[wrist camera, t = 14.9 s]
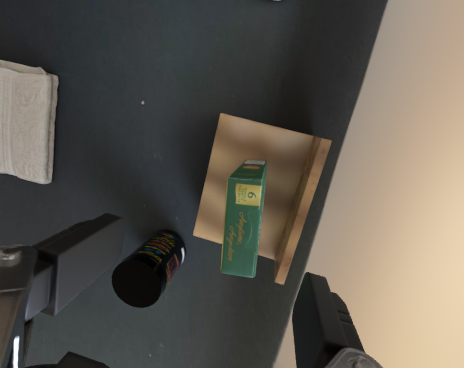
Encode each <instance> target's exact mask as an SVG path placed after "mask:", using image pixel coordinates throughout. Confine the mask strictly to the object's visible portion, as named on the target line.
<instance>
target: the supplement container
mask: <svg viewBox="0 0 464 368" xmlns="http://www.w3.org/2000/svg"><path fill="white" fill-rule="evenodd" d="M185 255H186V249H185V245H184V242H183V241H182V239H181V238H180V237H179V236H178V235H177V234H175V233H173V232H170V231H158V232H156V233H154V234H153V235H152V236H150V237H149V238H148V239H147V240H146V241H145V242H144V243H143V244H142V245H140V246H139V247H138V248H137V249H136V250H135V251H134V252H133V253H132V254H130V255H129V256H128V257H127V258H125V259H124V260H123V261H122V262H121V263H120V264H119V265H118V266H117V267H116V268H115V270H114V272H113V275H112V285H113V288H114V291H115V293H116V294H117V295H118V297H119V298H120V299H121V300H122V301H124V302H125V303H126V304H128V305H130V306H133V307H138V308H144V307H148V306H151V305H153V304H154V303H155V302H156V301H157V300H158V299H159V297H160V296H161V294H162V293H163V292H164V290H165V288H166V286H167V285H168V283H169V282H170V280H171V279H172V277H173V276H174V274H175V273H176V271H177V270H178V268H179V267H180V265H181V264H182V262H183V260H184V258H185Z"/></svg>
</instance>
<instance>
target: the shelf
mask: <svg viewBox="0 0 464 368" xmlns="http://www.w3.org/2000/svg"><path fill="white" fill-rule="evenodd" d="M331 142H332V141H331V140H327V139H323V138H319V137H315V136H311V135H307V134H303V133H299V132H295V131H291V130H287V129H283V128H279V127H275V126H271V125H267V124H263V123H259V122H255V121H251V120H247V119H243V118H239V117H235V116H231V115H227V114H223V113H220V117H219V121H218V126H217V130H216V135H215V139H214V144H213V148H212V153H211V157H210V161H209V166H208V170H207V175H206V179H205V184H204V188H203V192H202V197H201V201H200V206H199V210H198V215H197V219H196V224H195V228H194V232H193V235H194V236H197V237H201V238H204V239H207V240H211V241H214V242H217V243H221V244H222V243H223V229H224V216H225V203H226V189H227V178H228V177H229V176H230V175H231V174H232V173H233V172H234V171H235V170H236V169H237V168H238V167H239V166H240V165H242V164H243V163H244V162H245V161H246V160H262V161H267V175H266V186H265V195H264V204H263V214H262V222H261V231H260V238H259V246H258V255H261V256H264V257H268V258H271V259H274V260H275V282H277V283H280V284H284V282H285V279H286V276H287V273H288V270H289V267H290V264H291V261H292V258H293V255H294V252H295V249H296V246H297V243H298V240H299V237H300V234H301V231H302V228H303V225H304V222H305V219H306V216H307V213H308V210H309V207H310V204H311V201H312V198H313V195H314V192H315V189H316V186H317V184H318V181H319V178H320V175H321V172H322V169H323V166H324V163H325V160H326V157H327V154H328V151H329V148H330V145H331Z"/></svg>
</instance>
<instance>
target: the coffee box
mask: <svg viewBox="0 0 464 368" xmlns="http://www.w3.org/2000/svg"><path fill="white" fill-rule="evenodd" d="M266 175H267V161H262V160H246V161H245V162H244V163H243V164H242V165H240V166H239V167H238V168H237V169H236V170H235V171H234V172H233V173H232V174H231V175H230V176H229V177H228V178H227V189H226V203H225V216H224V229H223V243H222V258H221V273H225V274H231V275H238V276H245V277H255V273H256V264H257V255H258V246H259V238H260V231H261V222H262V214H263V204H264V195H265V186H266Z"/></svg>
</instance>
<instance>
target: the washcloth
mask: <svg viewBox="0 0 464 368" xmlns="http://www.w3.org/2000/svg"><path fill="white" fill-rule="evenodd" d="M58 84H59V83H58V76H56V75H53V74H49V73H46V72H45V71H44V70H43V69H42V68H41V67H37V68H35V67H29V66H25V65H21V64H17V63H13V62H8V61H4V60H0V173H3V174H4V173H7V174H10V175H15V176H18V178H21V179H25V180H27V181H28V180H29V181H32V182H37V183H41V184H48V183H50V182H51V181H52V180H51V179H52V173H53V160H54V159H53V156H54V138H55V137H54V136H55V135H54V128H55V125H54V123H55V117H56V106H57V88H58Z"/></svg>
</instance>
